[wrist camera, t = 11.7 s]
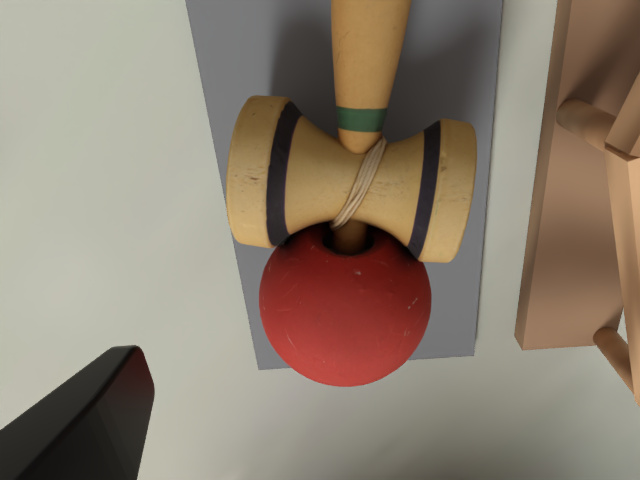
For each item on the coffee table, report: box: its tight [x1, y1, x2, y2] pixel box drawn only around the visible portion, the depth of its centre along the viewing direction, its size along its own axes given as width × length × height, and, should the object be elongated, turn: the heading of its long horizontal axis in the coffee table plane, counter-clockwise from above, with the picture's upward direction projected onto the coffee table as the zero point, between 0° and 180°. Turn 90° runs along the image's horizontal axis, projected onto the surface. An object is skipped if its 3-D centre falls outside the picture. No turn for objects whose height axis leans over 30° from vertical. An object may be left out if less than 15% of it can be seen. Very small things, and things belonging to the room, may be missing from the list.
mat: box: [185, 0, 503, 370], centre depth 17 cm, size 22×10×1 cm, turn 5°
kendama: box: [226, 0, 477, 387], centre depth 15 cm, size 8×6×18 cm
